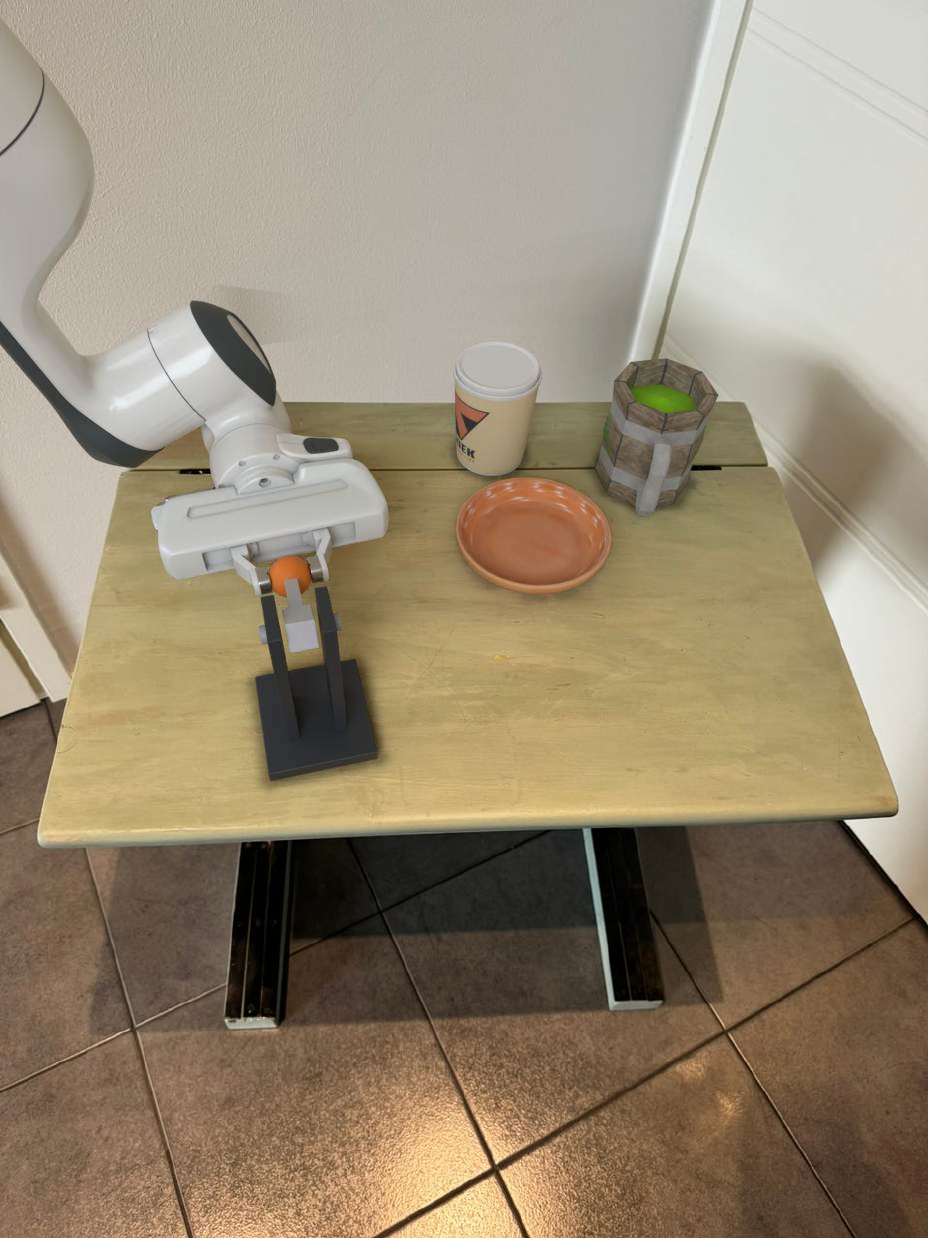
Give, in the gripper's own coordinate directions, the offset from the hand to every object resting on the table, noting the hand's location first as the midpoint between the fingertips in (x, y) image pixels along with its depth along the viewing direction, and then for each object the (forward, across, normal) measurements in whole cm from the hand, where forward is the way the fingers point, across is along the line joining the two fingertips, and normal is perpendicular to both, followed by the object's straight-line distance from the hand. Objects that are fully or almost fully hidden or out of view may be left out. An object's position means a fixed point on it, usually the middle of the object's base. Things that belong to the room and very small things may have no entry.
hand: (292, 583), depth 71 cm
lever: (+4, 0, 0) cm, 4 cm away
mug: (-11, +41, +9) cm, 43 cm away
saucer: (-6, +25, +9) cm, 28 cm away
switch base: (+8, -1, +9) cm, 12 cm away
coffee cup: (-21, +26, +9) cm, 35 cm away
